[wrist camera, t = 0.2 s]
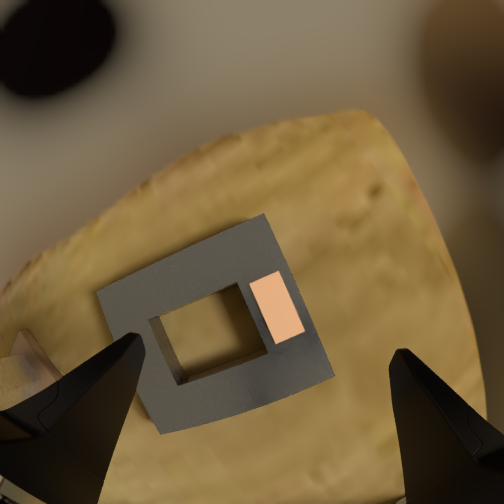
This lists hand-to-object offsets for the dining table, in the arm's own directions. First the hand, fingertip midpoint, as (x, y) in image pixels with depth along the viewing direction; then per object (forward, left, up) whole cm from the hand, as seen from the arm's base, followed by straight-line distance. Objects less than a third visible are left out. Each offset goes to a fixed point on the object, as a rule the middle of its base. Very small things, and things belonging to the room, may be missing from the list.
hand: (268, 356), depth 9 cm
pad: (+2, +29, -15) cm, 33 cm away
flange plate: (0, +5, -15) cm, 16 cm away
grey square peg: (+2, +29, -13) cm, 32 cm away
